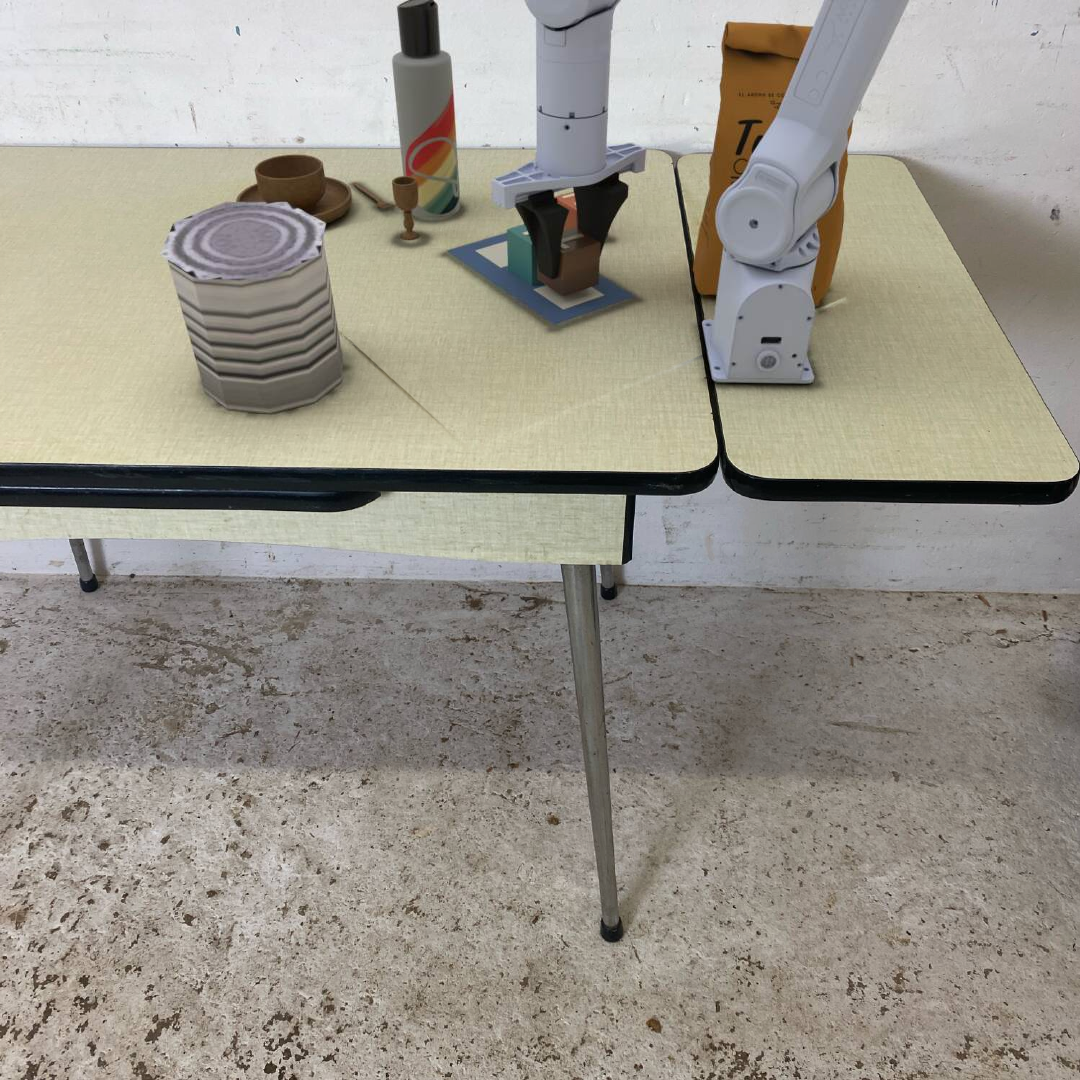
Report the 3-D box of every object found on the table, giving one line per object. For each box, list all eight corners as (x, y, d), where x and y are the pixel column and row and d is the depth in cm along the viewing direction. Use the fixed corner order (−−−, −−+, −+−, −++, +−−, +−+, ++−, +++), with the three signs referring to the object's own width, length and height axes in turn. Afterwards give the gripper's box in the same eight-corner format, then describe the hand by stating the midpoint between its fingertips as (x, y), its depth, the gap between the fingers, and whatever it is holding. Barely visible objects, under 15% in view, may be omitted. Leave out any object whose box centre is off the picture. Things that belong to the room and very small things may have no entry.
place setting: (351, 177, 108) (344, 123, 104) (434, 239, 95) (429, 181, 91) (200, 211, 101) (186, 154, 97) (267, 283, 88) (254, 222, 84)
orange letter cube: (607, 240, 95) (609, 199, 92) (575, 249, 93) (576, 209, 90) (584, 226, 97) (585, 186, 95) (552, 235, 96) (552, 195, 93)
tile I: (567, 274, 88) (567, 232, 86) (531, 285, 87) (531, 243, 84) (542, 259, 91) (542, 217, 88) (507, 269, 89) (506, 227, 86)
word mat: (635, 299, 85) (635, 295, 85) (554, 328, 82) (554, 324, 81) (522, 231, 96) (522, 227, 96) (446, 254, 93) (446, 250, 92)
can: (347, 334, 81) (326, 195, 73) (346, 408, 72) (321, 260, 64) (210, 344, 80) (173, 204, 72) (193, 420, 71) (149, 272, 63)
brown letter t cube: (599, 284, 85) (600, 241, 82) (562, 296, 83) (563, 252, 80) (573, 268, 87) (574, 225, 84) (537, 279, 85) (536, 235, 83)
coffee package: (826, 322, 82) (886, 45, 68) (683, 305, 85) (712, 34, 70) (830, 272, 89) (885, 12, 75) (698, 257, 92) (727, 3, 77)
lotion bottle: (452, 223, 98) (437, 7, 85) (400, 219, 99) (377, 4, 86) (466, 202, 102) (454, -8, 89) (416, 198, 103) (396, -10, 90)
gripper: (612, 78, 81) (605, 232, 90) (467, 111, 74) (476, 272, 83) (666, 100, 76) (653, 259, 85) (518, 136, 70) (521, 303, 79)
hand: (569, 267), depth 84 cm, fingers closed on brown letter t cube, 4 cm apart
